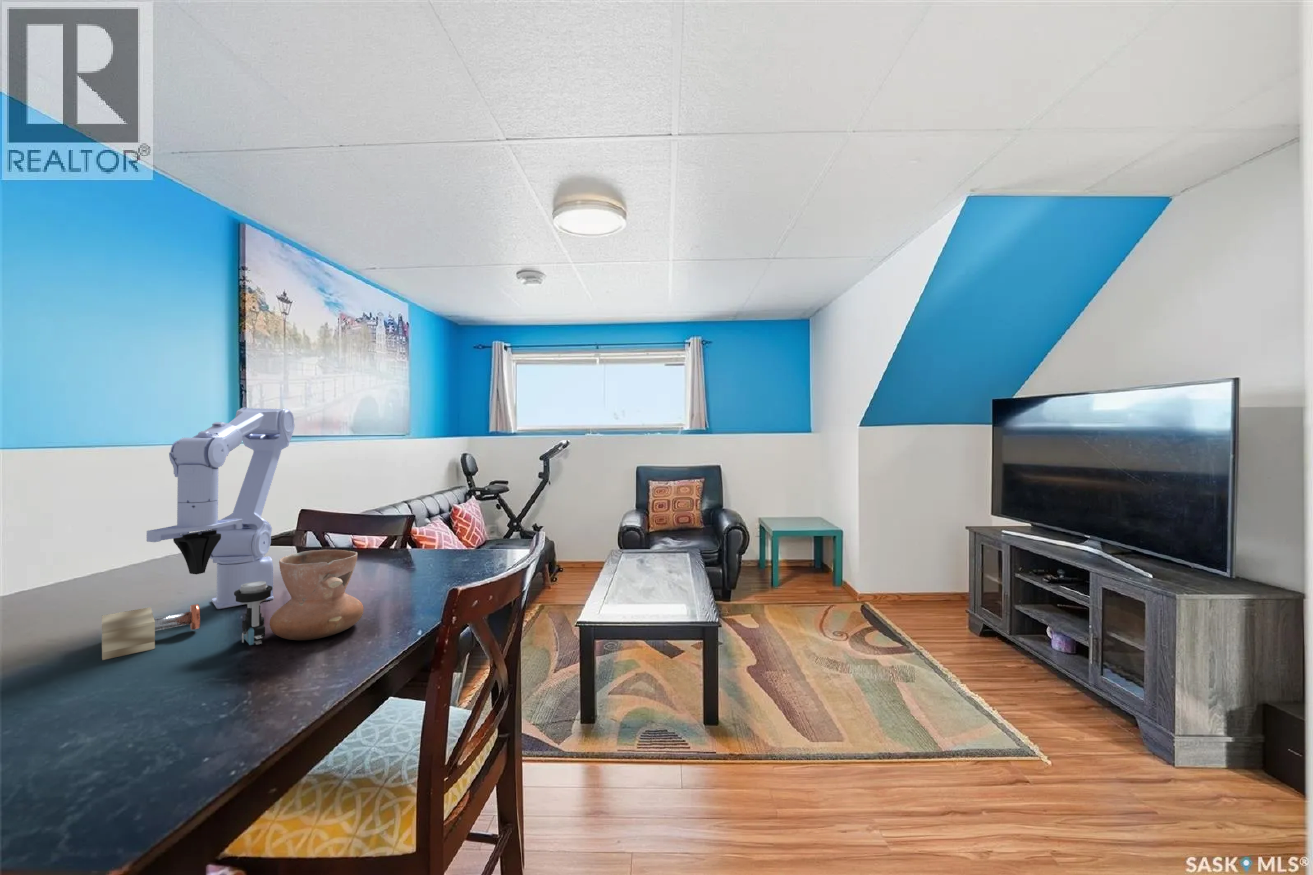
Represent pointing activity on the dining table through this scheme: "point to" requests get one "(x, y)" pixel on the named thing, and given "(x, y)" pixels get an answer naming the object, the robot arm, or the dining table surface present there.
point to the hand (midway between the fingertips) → (197, 573)
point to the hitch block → (127, 633)
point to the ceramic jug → (316, 595)
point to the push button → (253, 610)
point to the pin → (180, 619)
